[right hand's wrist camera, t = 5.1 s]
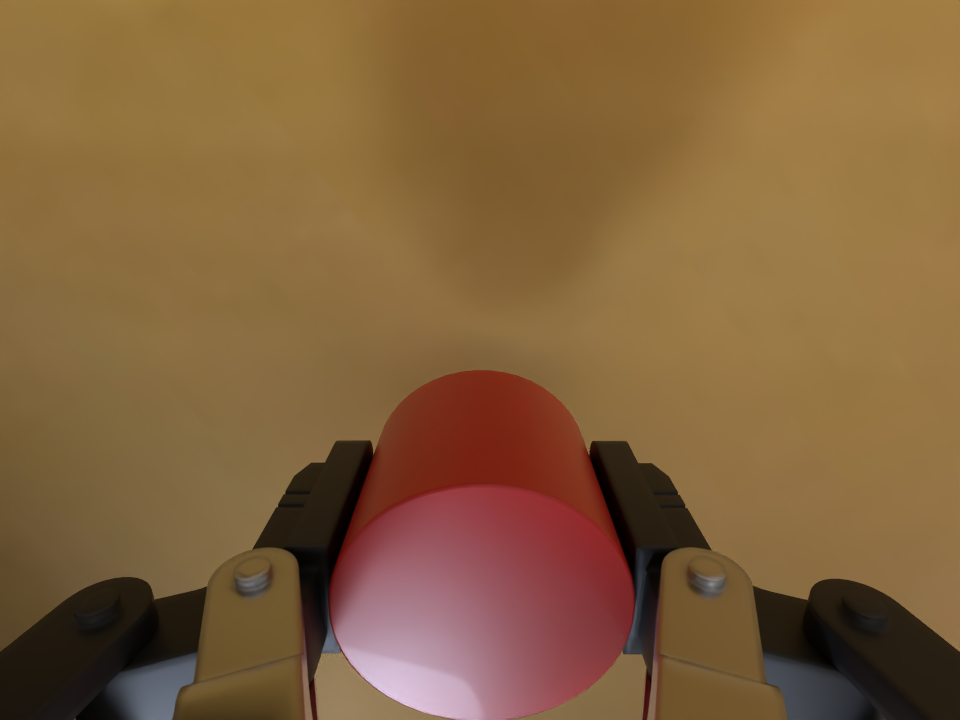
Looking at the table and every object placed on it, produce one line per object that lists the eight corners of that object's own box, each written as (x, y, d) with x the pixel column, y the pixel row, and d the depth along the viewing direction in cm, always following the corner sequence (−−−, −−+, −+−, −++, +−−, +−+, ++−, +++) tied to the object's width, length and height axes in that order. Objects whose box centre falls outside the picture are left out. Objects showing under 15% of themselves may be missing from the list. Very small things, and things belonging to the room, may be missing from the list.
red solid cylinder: (587, 363, 12) (643, 475, 8) (584, 545, 13) (629, 716, 9) (363, 375, 12) (302, 492, 8) (389, 555, 14) (350, 728, 9)
